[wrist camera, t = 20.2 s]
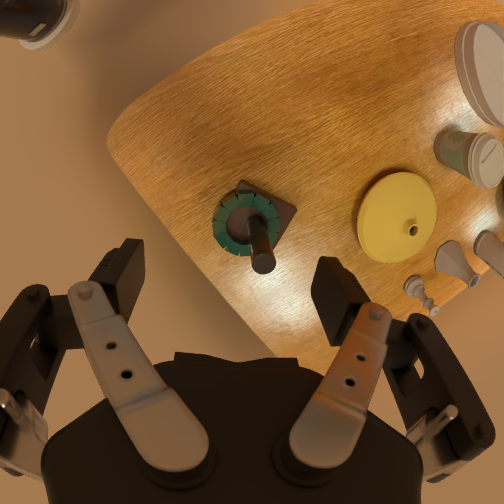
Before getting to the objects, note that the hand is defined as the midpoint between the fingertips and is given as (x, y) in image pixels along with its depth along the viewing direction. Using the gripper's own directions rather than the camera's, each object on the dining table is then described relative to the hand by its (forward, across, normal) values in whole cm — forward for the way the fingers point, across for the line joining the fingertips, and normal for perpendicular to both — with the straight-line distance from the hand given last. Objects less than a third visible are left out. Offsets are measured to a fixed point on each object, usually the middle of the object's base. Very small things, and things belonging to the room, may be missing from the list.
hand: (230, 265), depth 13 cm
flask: (+28, -45, +11) cm, 54 cm away
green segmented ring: (+27, -3, +8) cm, 28 cm away
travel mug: (+28, -56, +6) cm, 63 cm away
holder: (+28, -5, +8) cm, 30 cm away
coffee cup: (+28, -35, -10) cm, 46 cm away
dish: (+28, -46, -30) cm, 61 cm away
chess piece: (+28, -38, +18) cm, 51 cm away
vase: (+28, -27, +4) cm, 39 cm away
